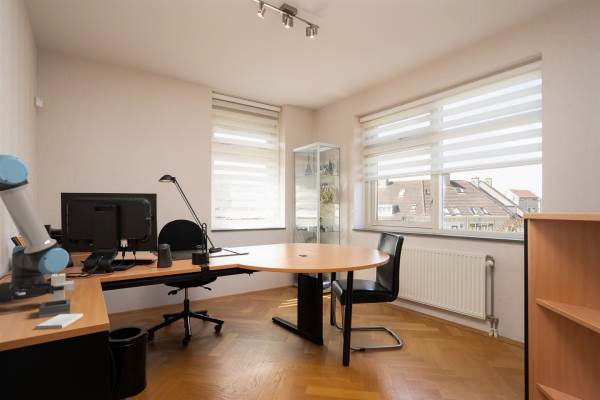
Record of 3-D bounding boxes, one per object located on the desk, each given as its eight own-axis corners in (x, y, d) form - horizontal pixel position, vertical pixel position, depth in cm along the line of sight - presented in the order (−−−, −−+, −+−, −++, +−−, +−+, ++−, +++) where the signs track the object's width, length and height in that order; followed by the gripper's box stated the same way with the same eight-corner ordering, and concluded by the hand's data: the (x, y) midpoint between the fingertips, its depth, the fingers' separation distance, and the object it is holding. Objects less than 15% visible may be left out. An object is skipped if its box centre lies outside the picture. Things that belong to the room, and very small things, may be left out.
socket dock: (41, 311, 119) (41, 302, 119) (70, 307, 124) (70, 298, 124) (38, 318, 112) (39, 308, 112) (69, 313, 117) (70, 304, 117)
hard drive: (62, 325, 102) (83, 312, 114) (34, 326, 101) (58, 313, 113) (62, 330, 102) (83, 317, 114) (34, 331, 101) (58, 318, 113)
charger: (50, 303, 130) (52, 273, 130) (64, 301, 133) (65, 272, 133) (50, 306, 126) (51, 275, 127) (63, 304, 129) (65, 274, 129)
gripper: (2, 297, 126) (73, 289, 140) (-7, 308, 112) (73, 298, 125) (3, 279, 127) (74, 273, 140) (-6, 287, 112) (74, 279, 126)
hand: (73, 285), depth 133 cm, fingers closed on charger, 4 cm apart
